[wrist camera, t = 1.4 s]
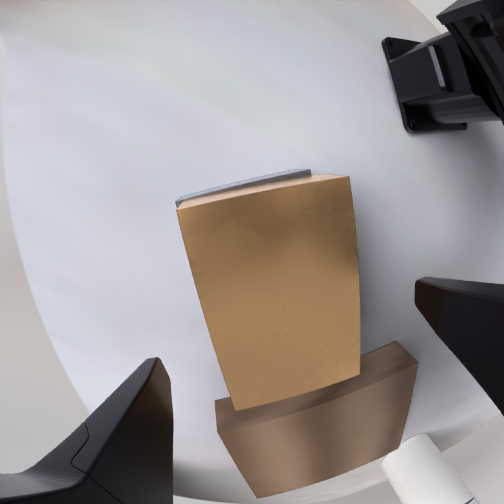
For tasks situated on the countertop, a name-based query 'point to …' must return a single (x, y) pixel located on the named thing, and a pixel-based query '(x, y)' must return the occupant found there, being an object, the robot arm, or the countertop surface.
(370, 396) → the stand
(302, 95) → the countertop surface
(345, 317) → the tan flat block
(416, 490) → the cylindrical container
